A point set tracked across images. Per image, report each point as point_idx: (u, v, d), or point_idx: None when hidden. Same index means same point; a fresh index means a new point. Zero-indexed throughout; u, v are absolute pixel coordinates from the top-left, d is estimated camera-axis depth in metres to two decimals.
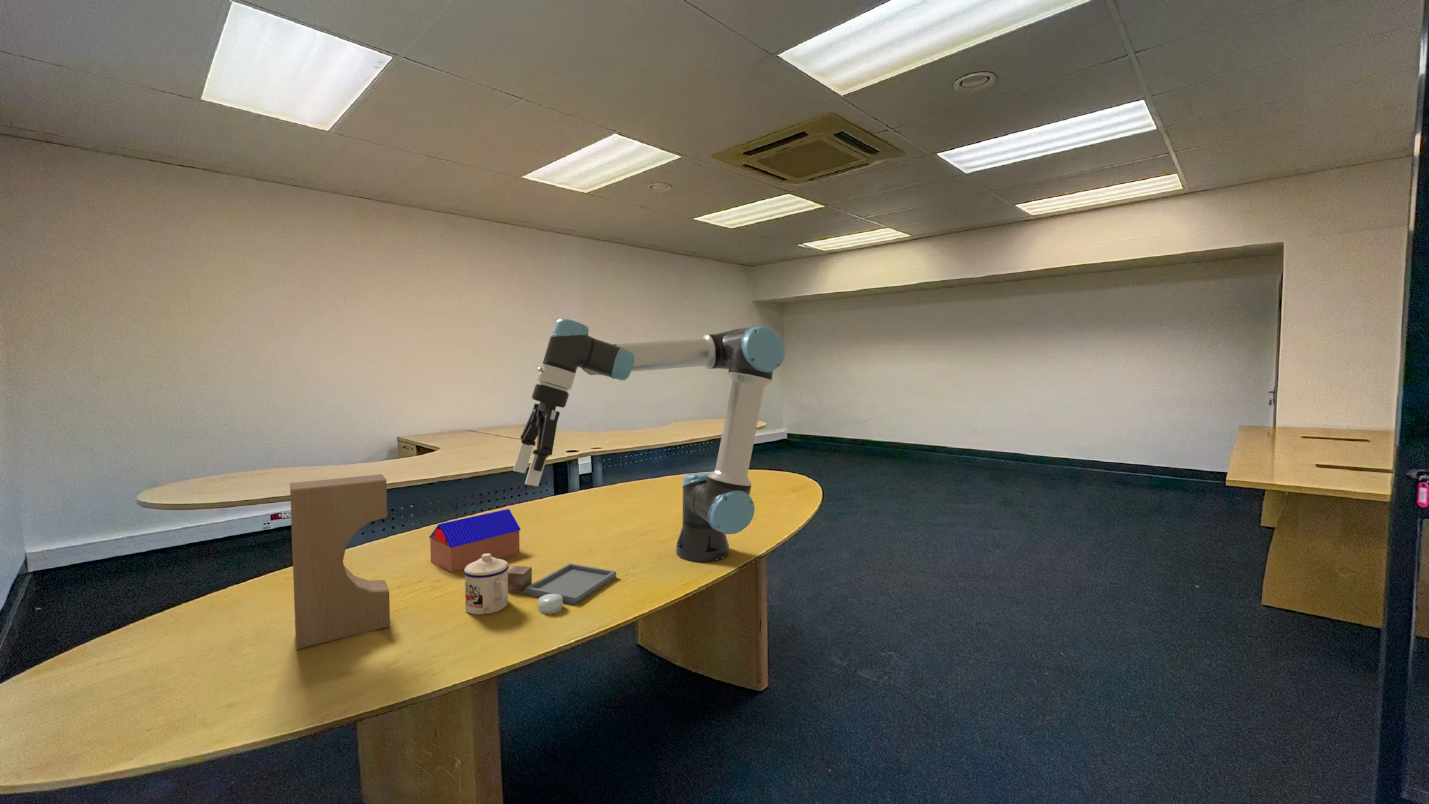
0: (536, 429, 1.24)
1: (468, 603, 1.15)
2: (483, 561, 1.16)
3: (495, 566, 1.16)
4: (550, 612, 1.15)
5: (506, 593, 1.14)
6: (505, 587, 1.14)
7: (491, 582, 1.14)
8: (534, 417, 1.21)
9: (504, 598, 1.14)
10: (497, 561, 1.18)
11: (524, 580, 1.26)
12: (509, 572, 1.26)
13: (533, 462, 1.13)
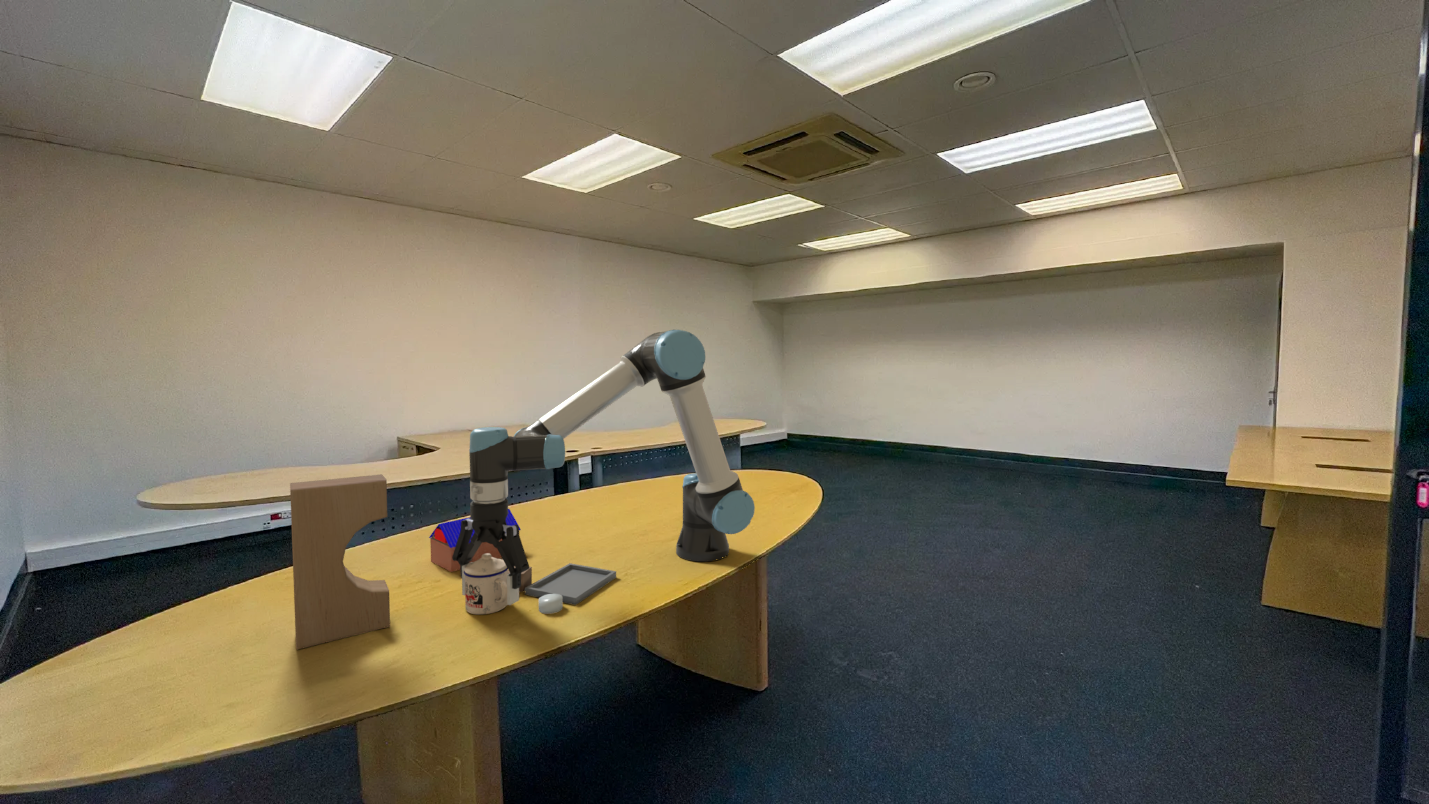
0: (477, 545, 1.18)
1: (468, 603, 1.15)
2: (483, 561, 1.16)
3: (495, 565, 1.16)
4: (550, 612, 1.15)
5: (506, 593, 1.14)
6: (505, 587, 1.14)
7: (491, 582, 1.14)
8: (478, 536, 1.16)
9: (504, 598, 1.14)
10: (497, 561, 1.18)
11: (524, 580, 1.26)
12: (509, 572, 1.26)
13: (510, 582, 1.14)
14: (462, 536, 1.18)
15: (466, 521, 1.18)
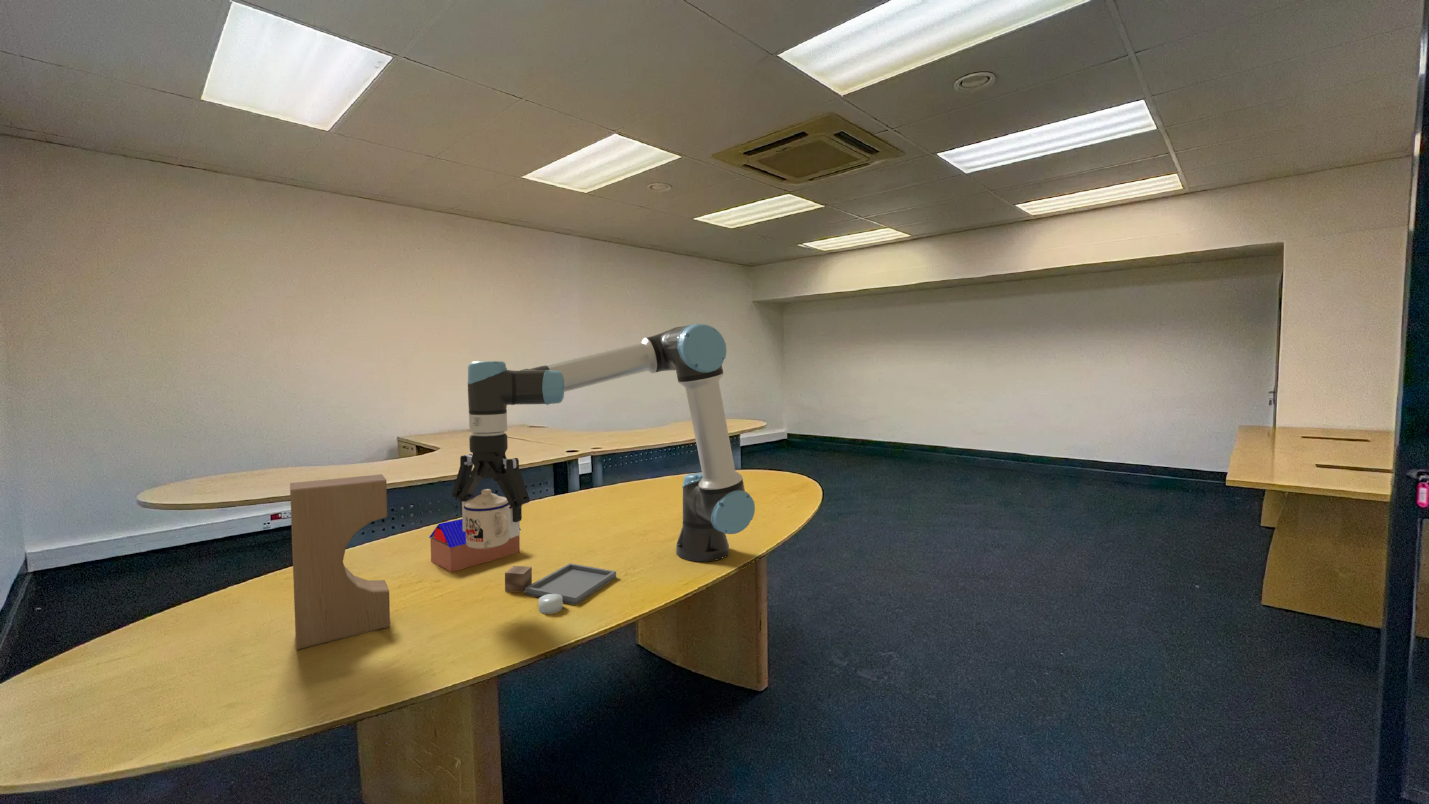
0: (477, 481, 1.17)
1: (468, 537, 1.14)
2: (483, 496, 1.15)
3: (495, 500, 1.15)
4: (550, 612, 1.15)
5: (507, 526, 1.13)
6: (505, 520, 1.13)
7: (491, 516, 1.13)
8: (478, 470, 1.15)
9: (505, 531, 1.13)
10: (497, 496, 1.17)
11: (524, 580, 1.26)
12: (509, 572, 1.26)
13: (511, 515, 1.13)
14: (462, 471, 1.17)
15: (465, 456, 1.17)
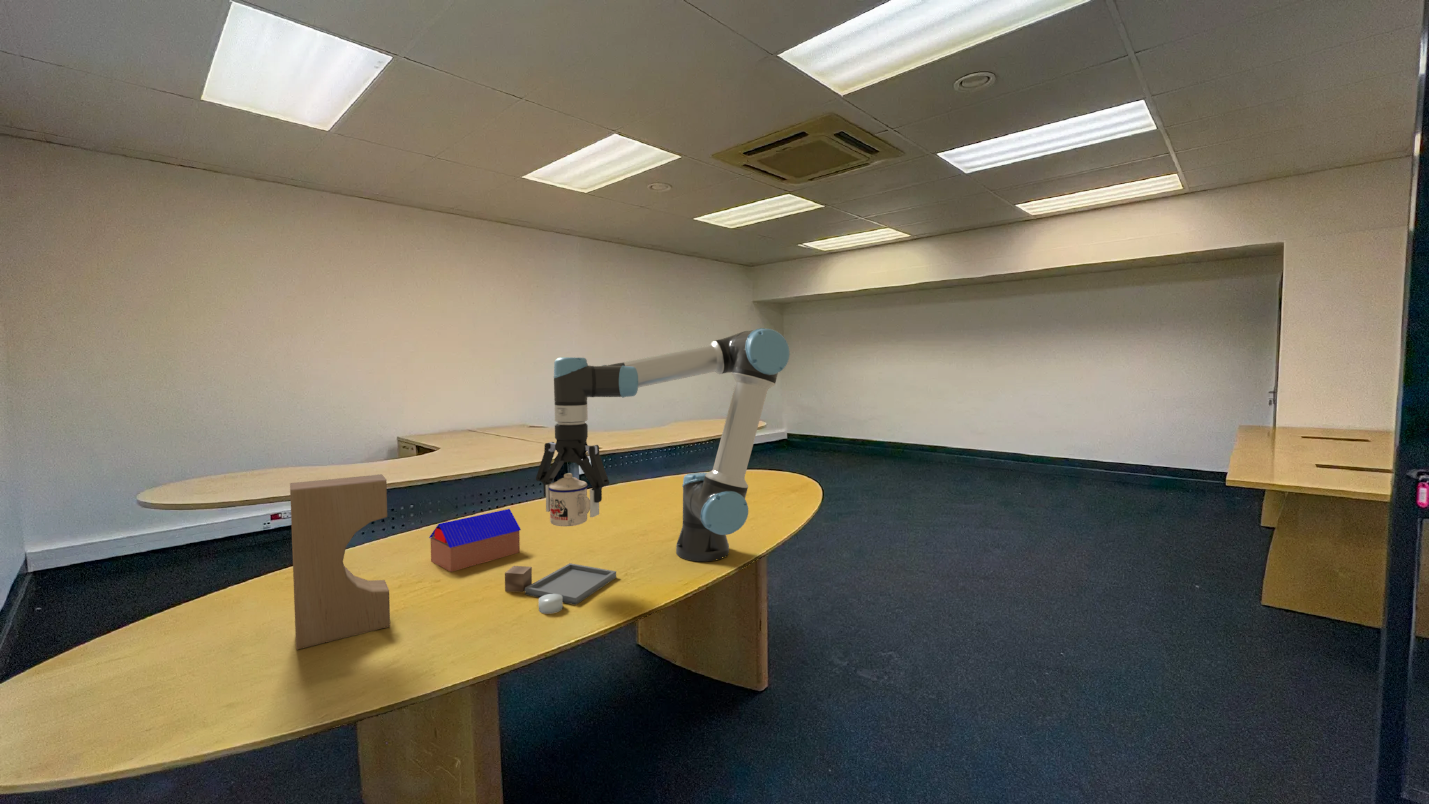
0: (559, 466, 1.29)
1: (554, 516, 1.26)
2: (566, 479, 1.28)
3: (577, 483, 1.28)
4: (550, 612, 1.15)
5: (589, 506, 1.25)
6: (588, 500, 1.25)
7: (575, 497, 1.26)
8: (562, 456, 1.27)
9: (587, 511, 1.25)
10: (578, 480, 1.29)
11: (524, 580, 1.26)
12: (509, 572, 1.26)
13: (593, 496, 1.25)
14: (546, 457, 1.29)
15: (549, 444, 1.29)
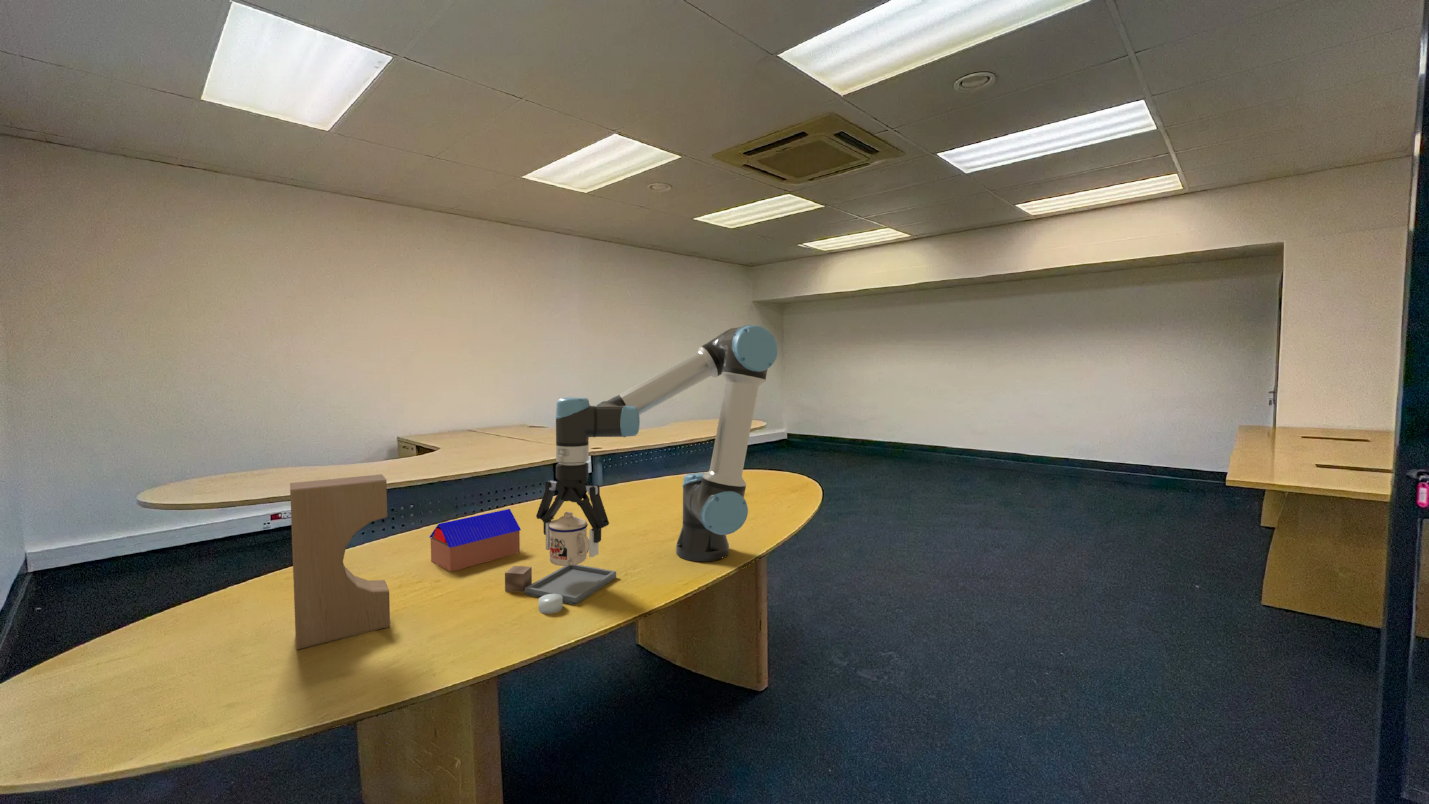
0: (560, 504, 1.30)
1: (553, 555, 1.27)
2: (566, 518, 1.28)
3: (577, 522, 1.28)
4: (550, 612, 1.15)
5: (588, 546, 1.26)
6: (588, 541, 1.26)
7: (574, 537, 1.27)
8: (562, 495, 1.28)
9: (586, 551, 1.26)
10: (578, 519, 1.30)
11: (524, 580, 1.26)
12: (509, 572, 1.26)
13: (592, 537, 1.26)
14: (546, 496, 1.30)
15: (550, 482, 1.30)
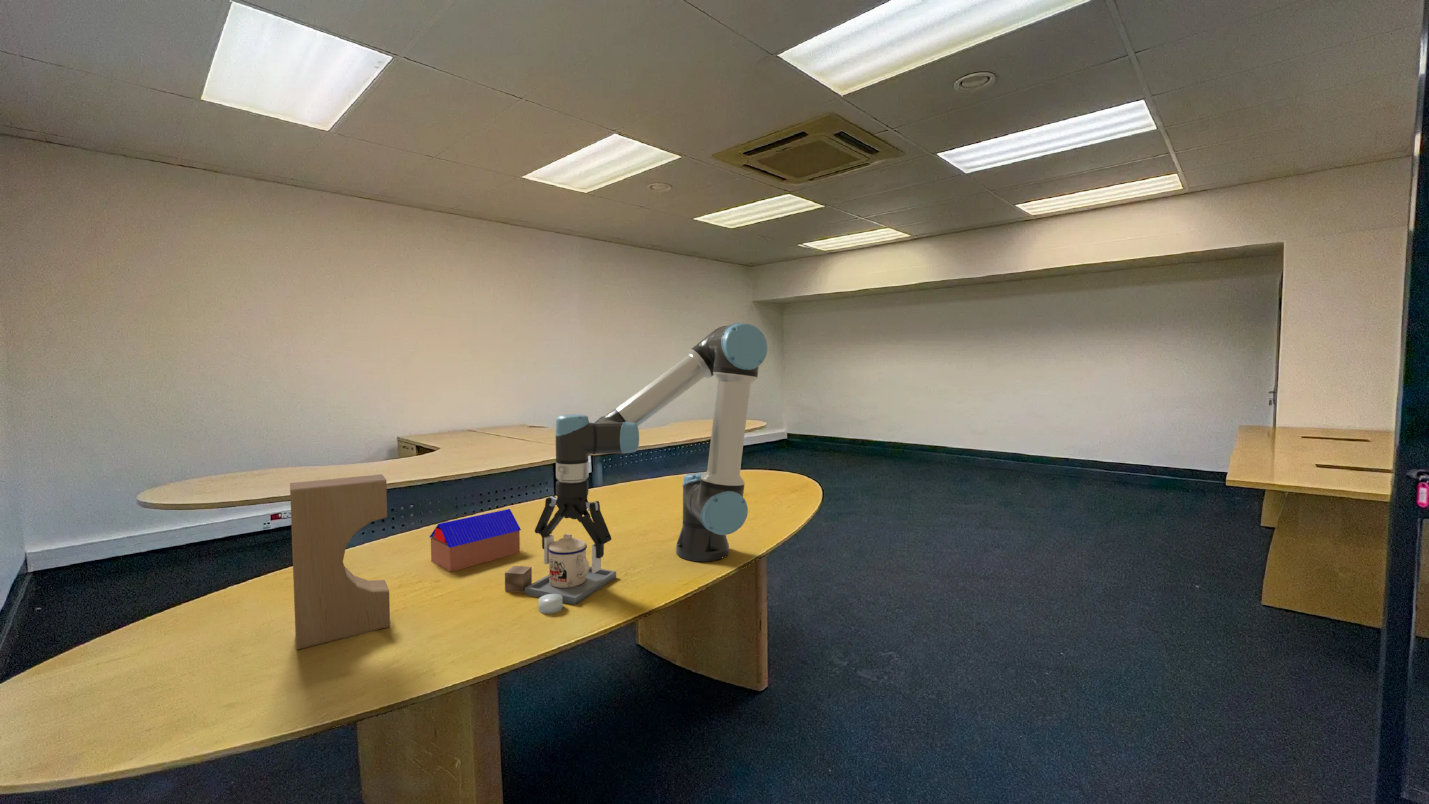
0: (559, 520, 1.31)
1: (553, 578, 1.27)
2: (565, 540, 1.29)
3: (576, 544, 1.29)
4: (550, 612, 1.15)
5: (588, 568, 1.26)
6: (587, 563, 1.26)
7: (574, 559, 1.27)
8: (562, 512, 1.28)
9: (586, 573, 1.26)
10: (577, 540, 1.31)
11: (524, 580, 1.26)
12: (509, 572, 1.26)
13: (595, 552, 1.26)
14: (546, 512, 1.30)
15: (550, 498, 1.30)
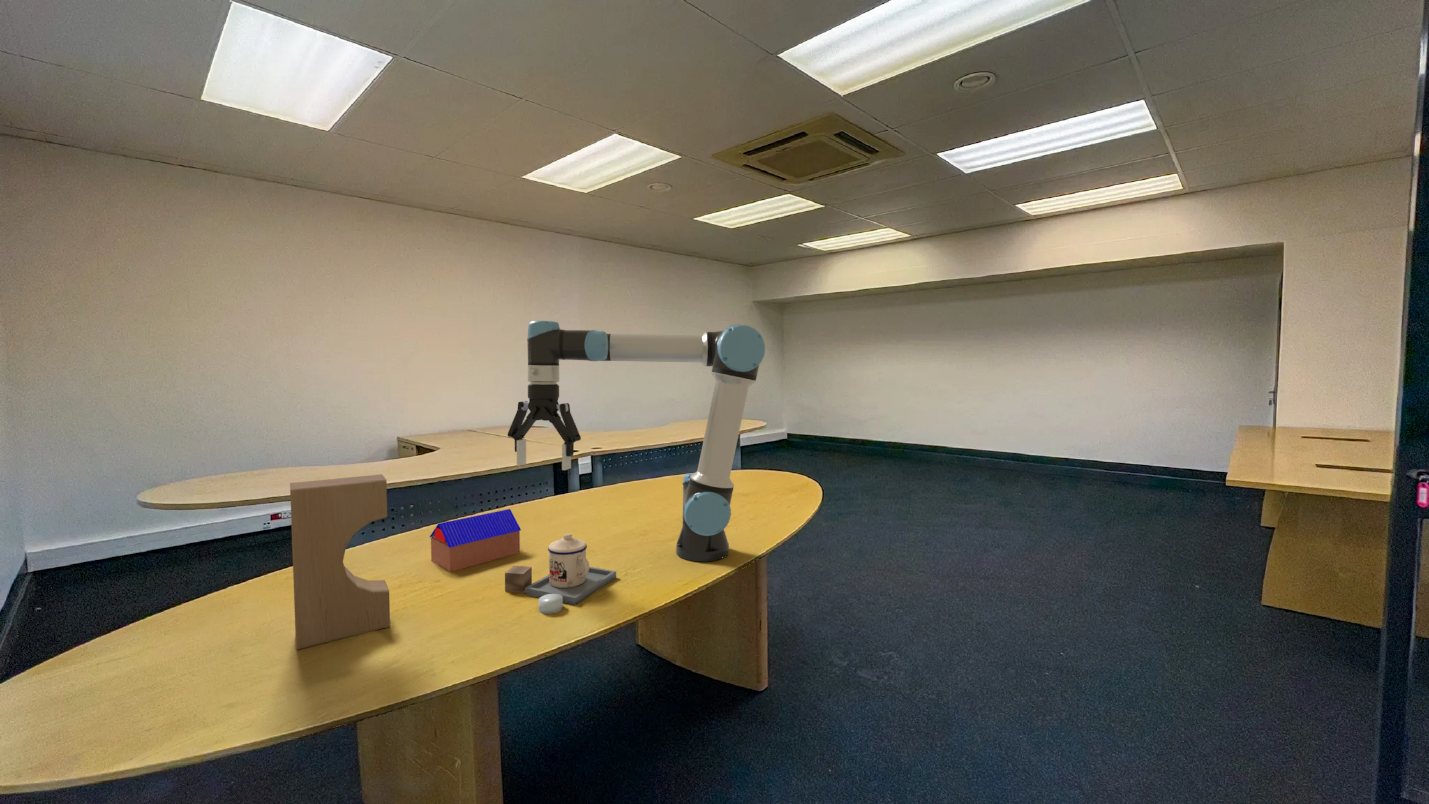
0: (531, 423, 1.37)
1: (553, 578, 1.27)
2: (565, 540, 1.29)
3: (576, 544, 1.29)
4: (550, 612, 1.15)
5: (588, 568, 1.26)
6: (587, 563, 1.26)
7: (574, 559, 1.27)
8: (534, 414, 1.34)
9: (586, 573, 1.27)
10: (577, 540, 1.31)
11: (524, 580, 1.26)
12: (509, 572, 1.26)
13: (565, 450, 1.33)
14: (518, 415, 1.36)
15: (522, 402, 1.36)
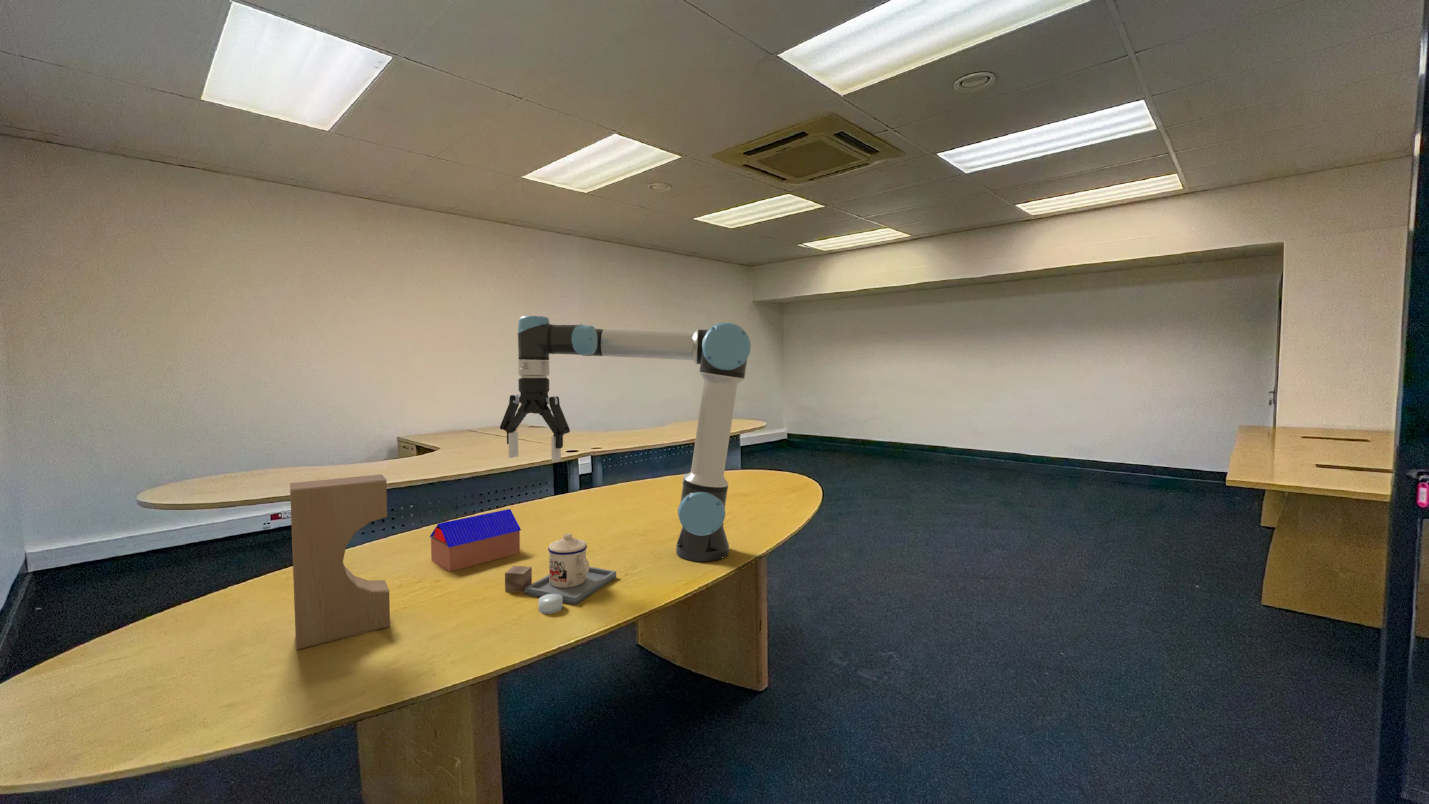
0: (522, 416, 1.40)
1: (553, 578, 1.27)
2: (565, 540, 1.29)
3: (576, 544, 1.29)
4: (550, 612, 1.15)
5: (588, 568, 1.26)
6: (587, 563, 1.26)
7: (574, 559, 1.27)
8: (524, 407, 1.38)
9: (586, 573, 1.27)
10: (577, 540, 1.31)
11: (524, 580, 1.26)
12: (509, 572, 1.26)
13: (554, 443, 1.36)
14: (510, 408, 1.40)
15: (514, 396, 1.40)
